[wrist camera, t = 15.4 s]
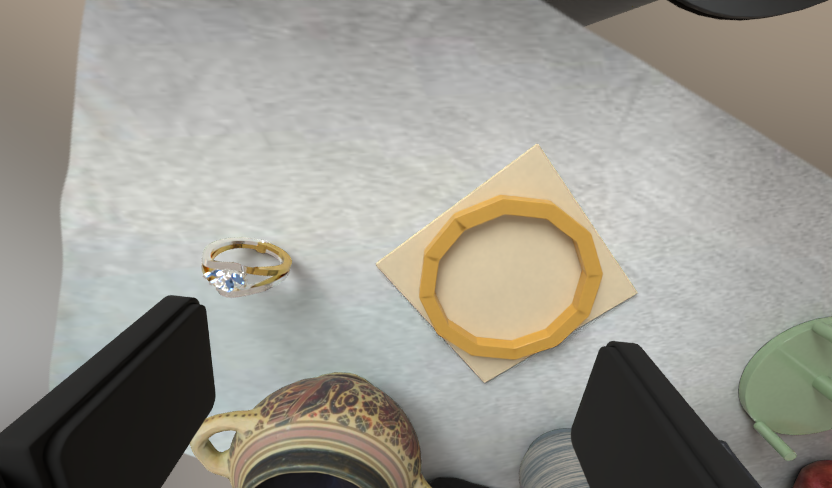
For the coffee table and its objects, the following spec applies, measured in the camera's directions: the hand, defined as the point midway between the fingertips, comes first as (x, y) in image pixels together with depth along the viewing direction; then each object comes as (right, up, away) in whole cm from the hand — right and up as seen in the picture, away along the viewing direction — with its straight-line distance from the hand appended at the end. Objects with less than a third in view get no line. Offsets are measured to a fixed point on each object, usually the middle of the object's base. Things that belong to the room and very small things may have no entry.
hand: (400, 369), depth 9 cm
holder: (+43, -11, +32) cm, 55 cm away
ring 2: (+9, -1, +27) cm, 29 cm away
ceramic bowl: (-8, -15, +35) cm, 39 cm away
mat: (+9, 0, +28) cm, 30 cm away
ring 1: (-14, +3, +28) cm, 31 cm away
